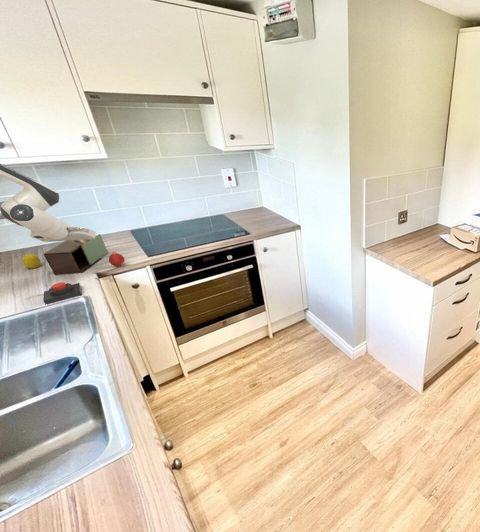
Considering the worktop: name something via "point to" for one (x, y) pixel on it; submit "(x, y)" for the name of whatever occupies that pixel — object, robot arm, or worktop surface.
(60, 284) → the button
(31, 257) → the lemon
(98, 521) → the worktop surface
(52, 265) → the cabinet
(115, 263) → the onion
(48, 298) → the button box
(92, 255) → the sliding door
